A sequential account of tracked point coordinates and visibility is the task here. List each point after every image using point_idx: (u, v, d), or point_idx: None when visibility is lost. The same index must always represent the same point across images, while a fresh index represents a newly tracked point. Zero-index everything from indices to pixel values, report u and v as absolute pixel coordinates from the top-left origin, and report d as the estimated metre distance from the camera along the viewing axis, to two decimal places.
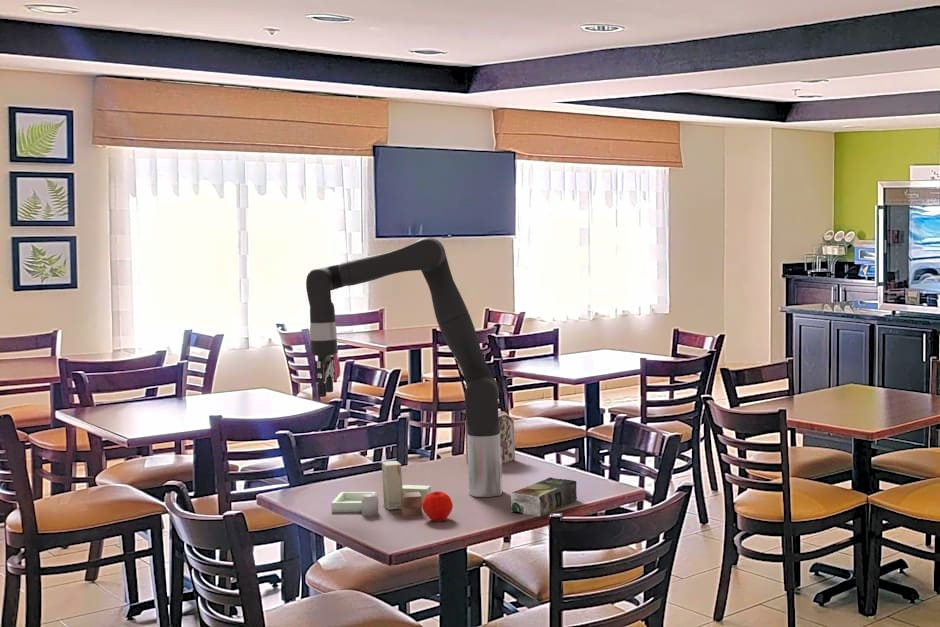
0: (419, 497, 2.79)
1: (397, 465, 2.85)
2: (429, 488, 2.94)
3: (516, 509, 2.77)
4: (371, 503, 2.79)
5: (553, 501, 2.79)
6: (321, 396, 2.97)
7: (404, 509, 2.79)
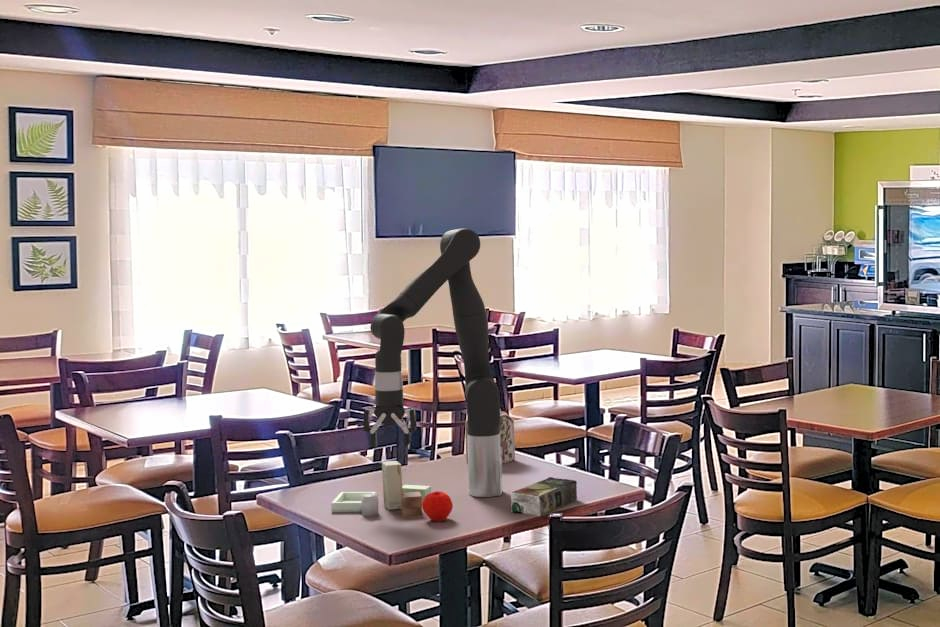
0: (419, 497, 2.79)
1: (397, 465, 2.85)
2: (429, 488, 2.93)
3: (516, 509, 2.77)
4: (371, 503, 2.79)
5: (553, 501, 2.79)
6: (407, 446, 2.86)
7: (404, 509, 2.79)
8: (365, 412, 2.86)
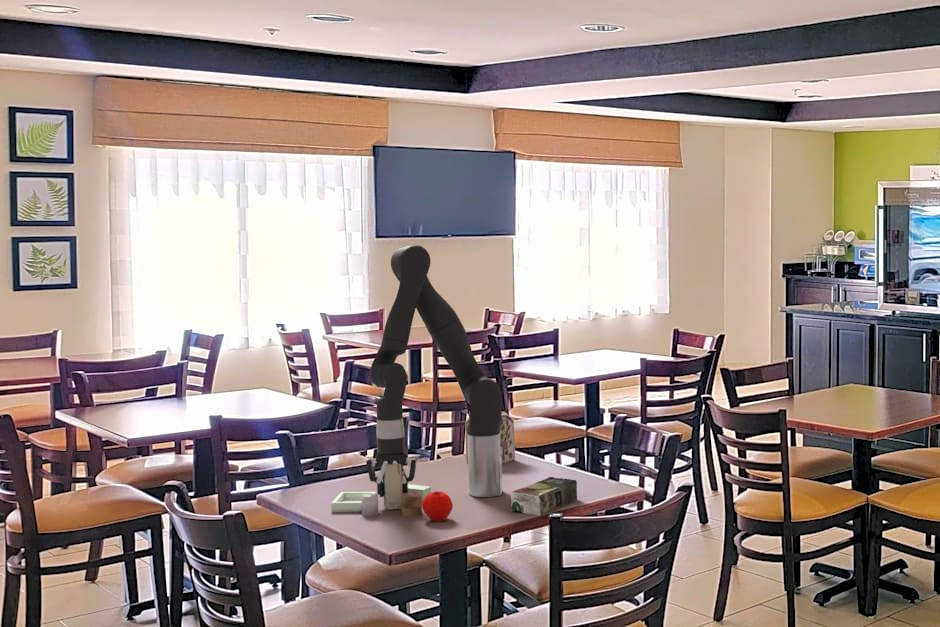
0: (419, 497, 2.79)
1: (397, 465, 2.85)
2: (428, 489, 2.93)
3: (516, 508, 2.77)
4: (371, 503, 2.79)
5: (553, 501, 2.79)
6: None
7: (404, 509, 2.79)
8: (367, 463, 2.86)
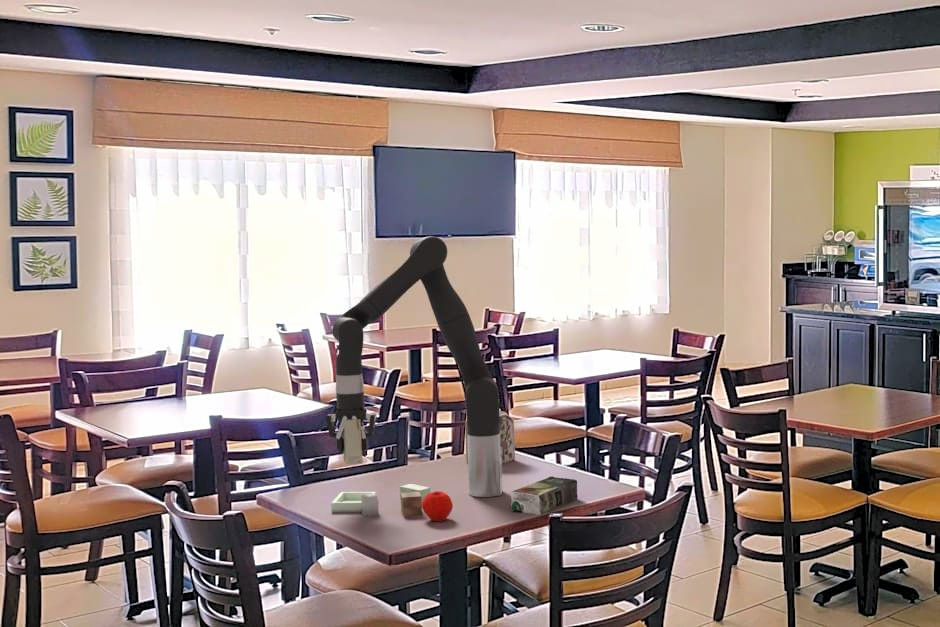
0: (419, 497, 2.79)
1: (356, 420, 2.86)
2: (426, 490, 2.92)
3: (516, 508, 2.78)
4: (371, 503, 2.79)
5: (553, 500, 2.80)
6: (364, 451, 2.89)
7: (404, 509, 2.79)
8: (327, 418, 2.88)
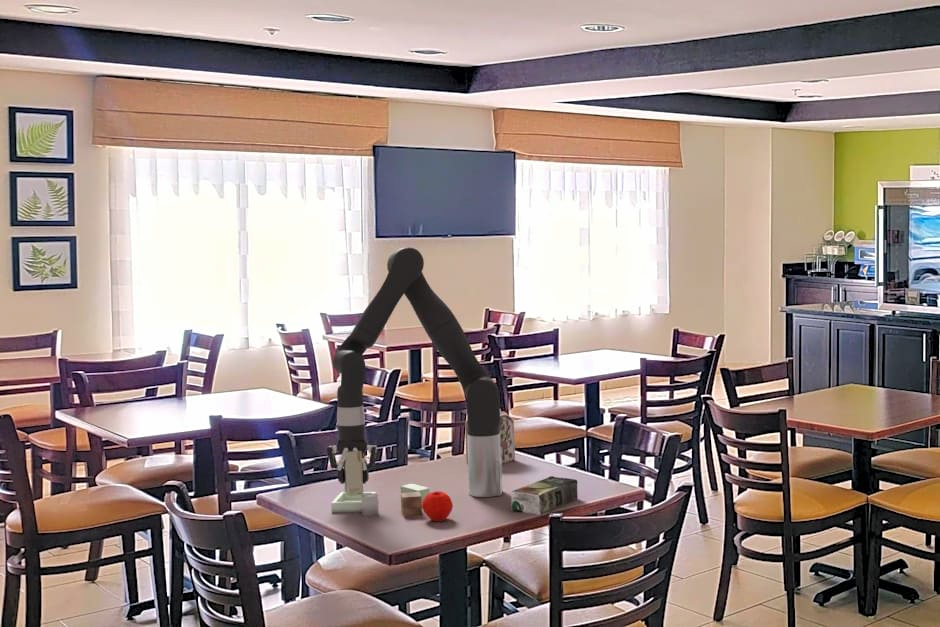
0: (419, 497, 2.79)
1: (357, 452, 2.87)
2: (426, 490, 2.92)
3: (516, 507, 2.78)
4: (371, 503, 2.79)
5: (553, 500, 2.80)
6: (365, 482, 2.89)
7: (404, 509, 2.79)
8: (328, 449, 2.89)
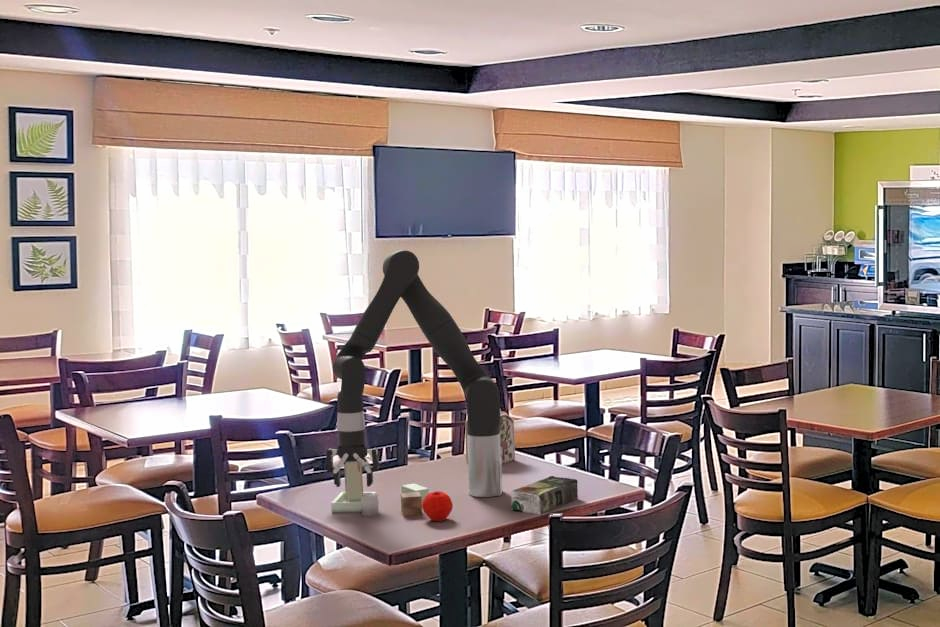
0: (419, 497, 2.79)
1: (357, 462, 2.87)
2: (424, 490, 2.91)
3: (516, 507, 2.78)
4: (371, 503, 2.79)
5: (553, 500, 2.80)
6: (369, 485, 2.89)
7: (404, 509, 2.79)
8: (328, 452, 2.88)
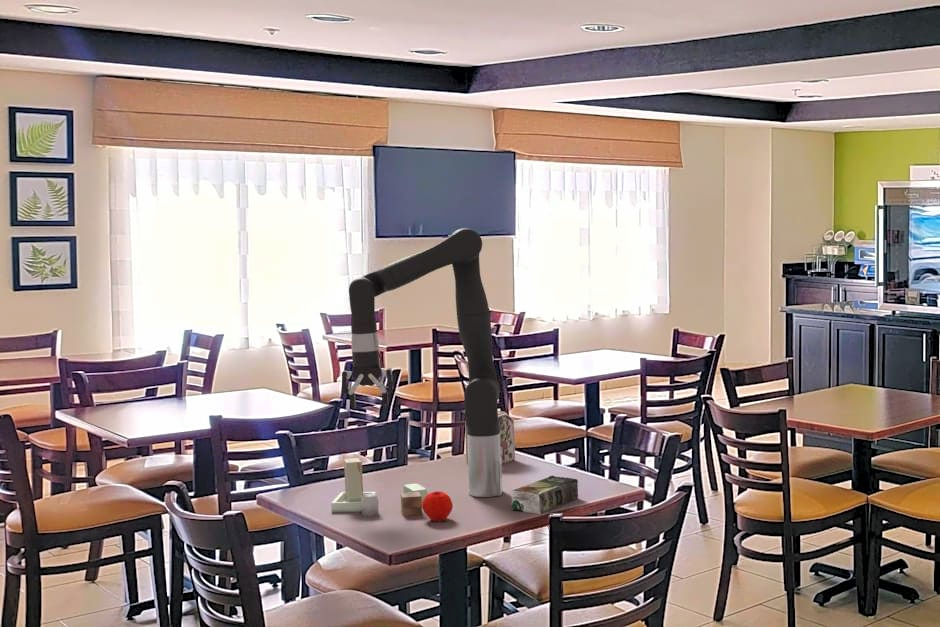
0: (419, 497, 2.79)
1: (357, 462, 2.87)
2: (422, 491, 2.91)
3: (516, 507, 2.79)
4: (371, 503, 2.79)
5: (554, 499, 2.81)
6: (385, 405, 2.94)
7: (404, 509, 2.79)
8: (343, 374, 2.93)
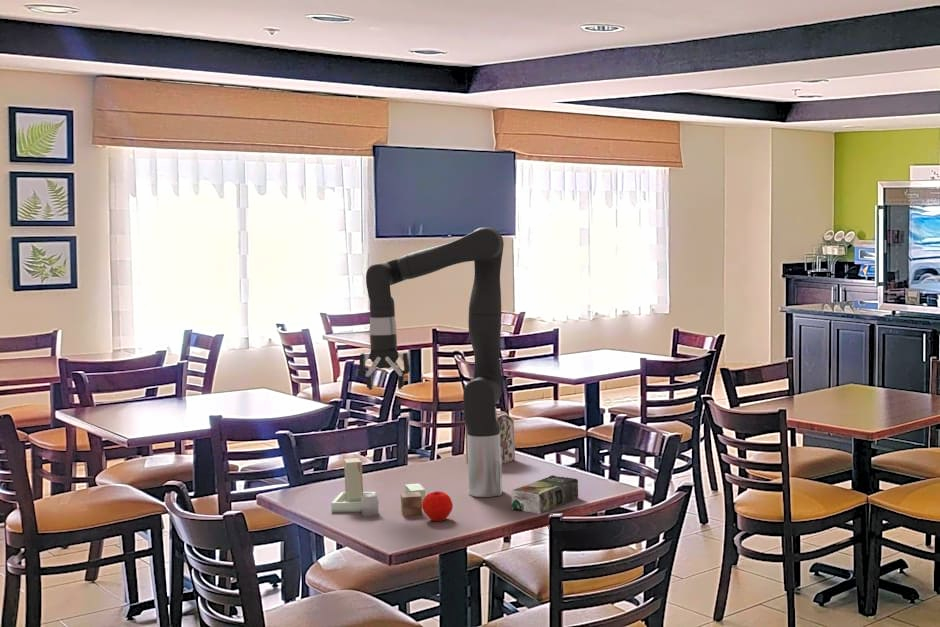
0: (419, 497, 2.79)
1: (357, 462, 2.87)
2: (420, 491, 2.91)
3: (516, 506, 2.79)
4: (371, 503, 2.79)
5: (554, 499, 2.81)
6: (401, 388, 3.01)
7: (404, 509, 2.79)
8: (361, 356, 3.01)
